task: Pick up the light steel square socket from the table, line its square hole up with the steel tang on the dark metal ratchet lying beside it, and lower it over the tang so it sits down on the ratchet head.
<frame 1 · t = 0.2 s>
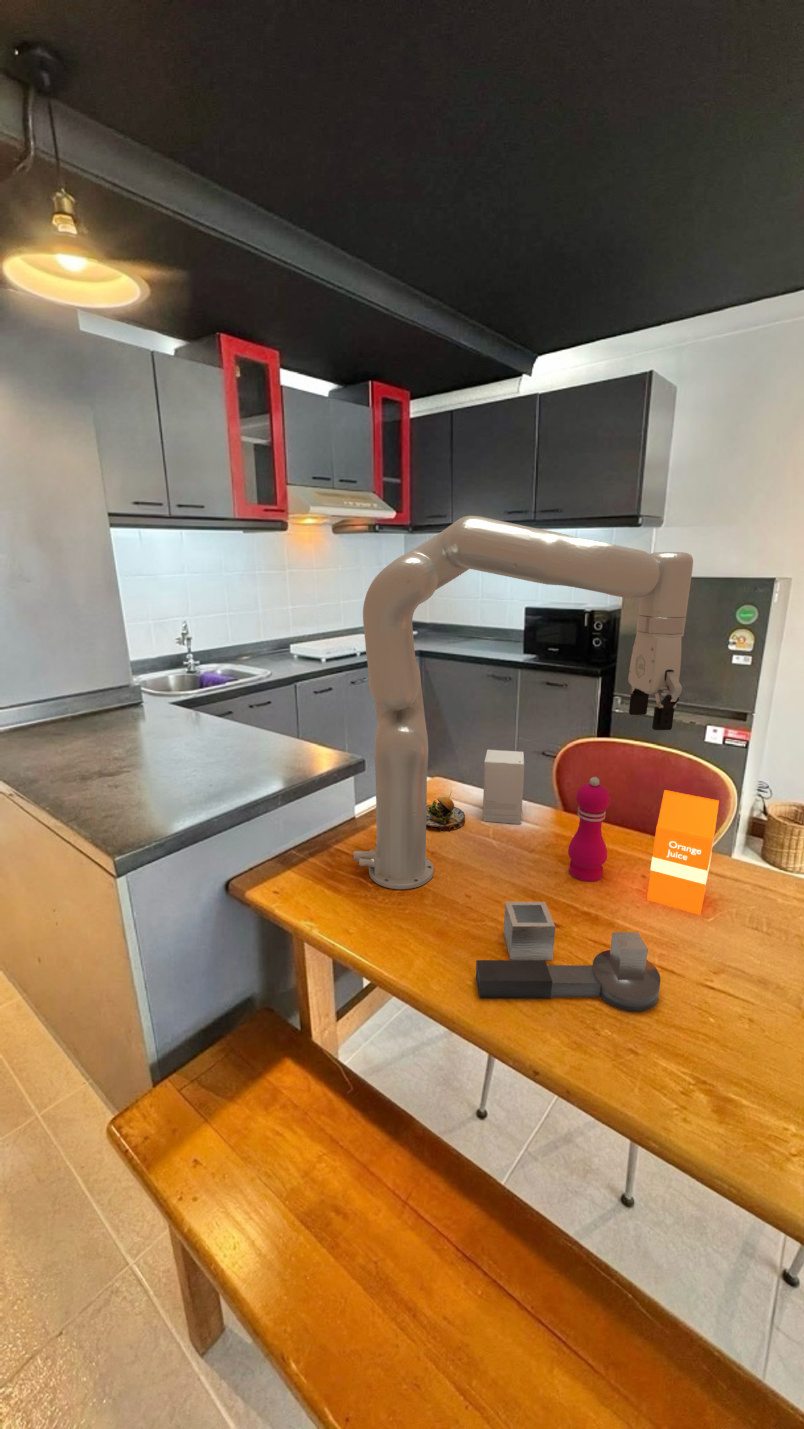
hand: (649, 721, 104), 31 cm above the table, tool pointing down, fingers open, 9 cm apart
socket: (527, 946, 91), on the table
supplement box: (501, 815, 138), on the table
pepper mill: (585, 874, 113), on the table
burger: (439, 822, 135), on the table
ratchet: (568, 988, 83), on the table
orange juice: (675, 897, 105), on the table
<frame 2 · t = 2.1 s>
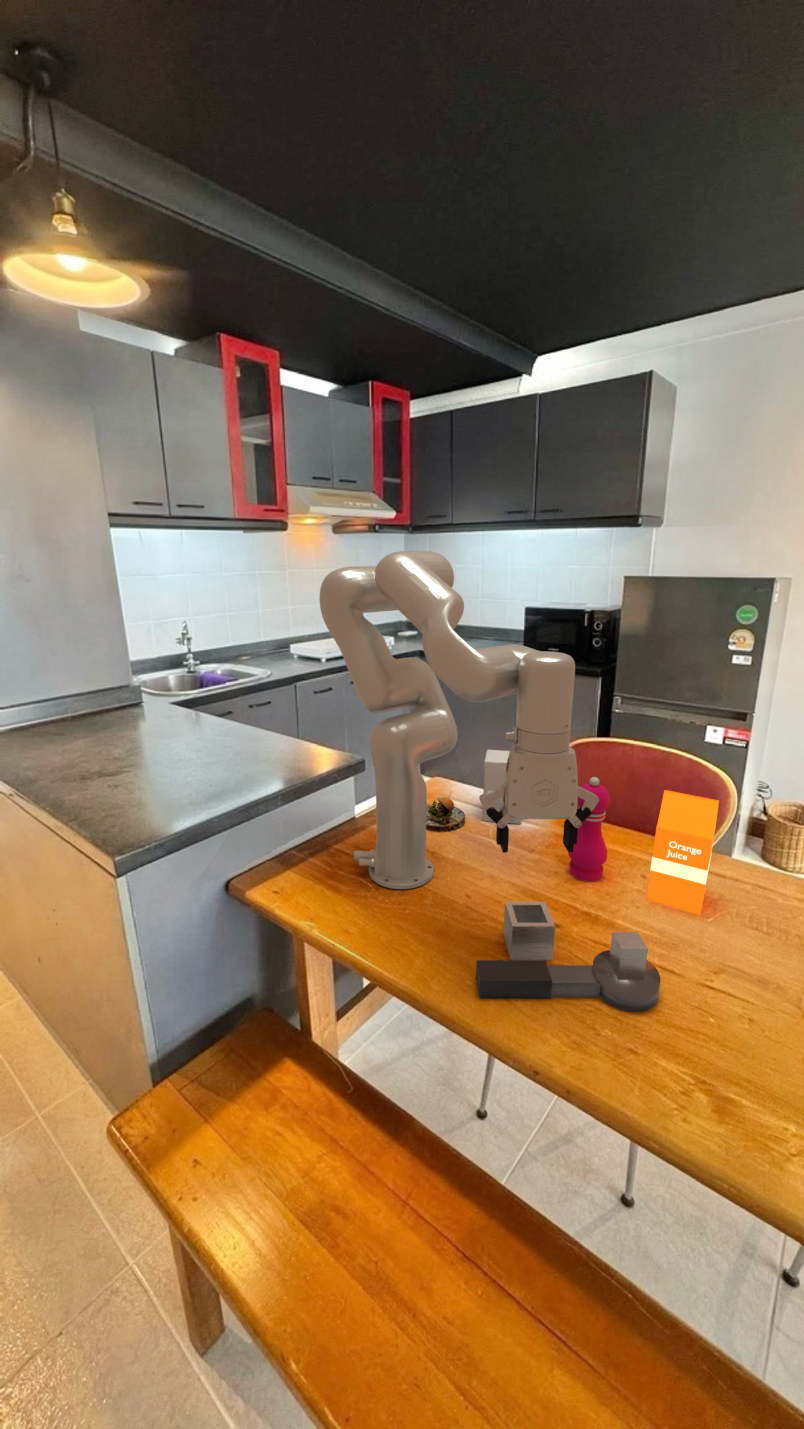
hand: (535, 848, 87), 17 cm above the table, tool pointing down, fingers open, 9 cm apart
nothing on the table moved.
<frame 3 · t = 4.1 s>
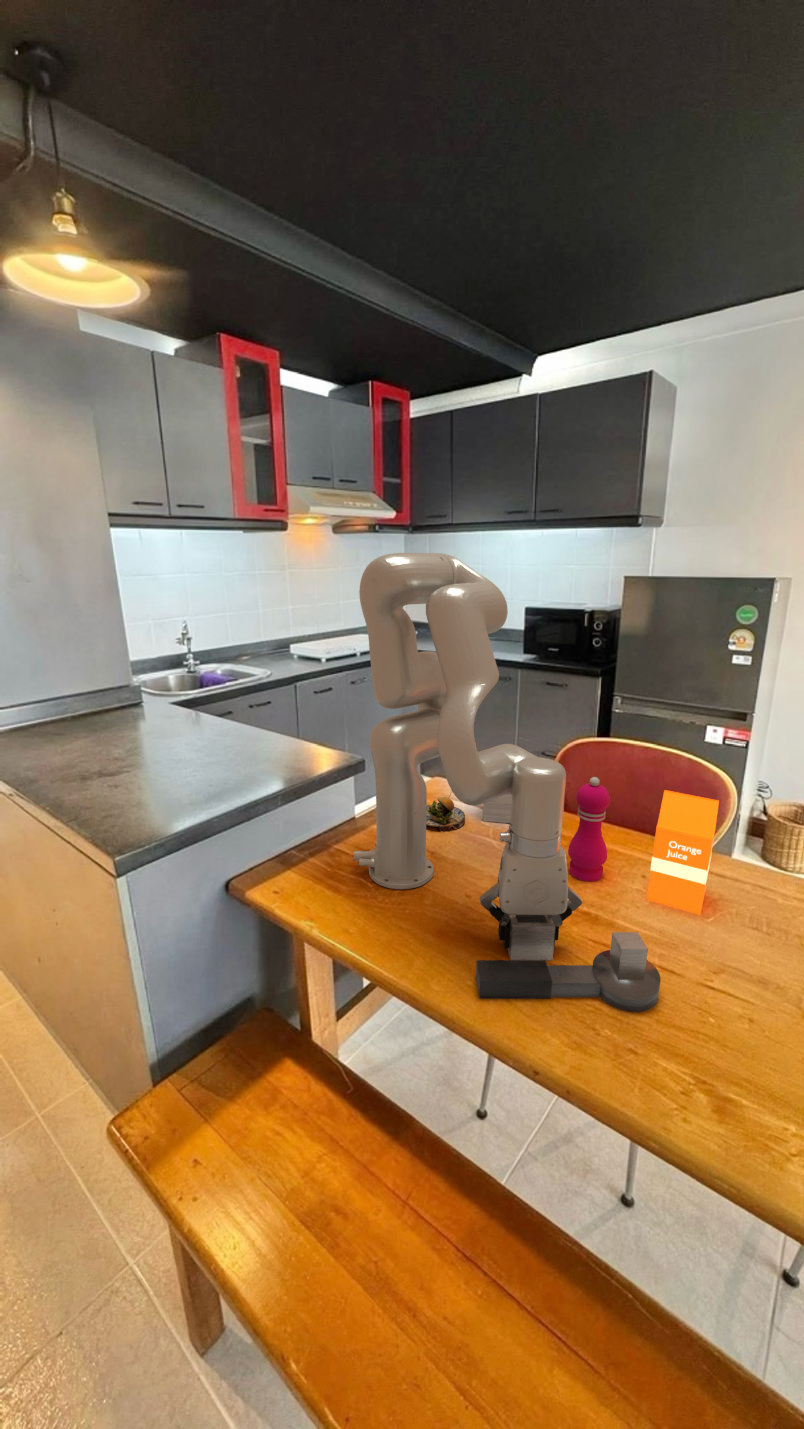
hand: (527, 942, 91), 1 cm above the table, tool pointing down, fingers closed on socket, 6 cm apart
socket: (527, 946, 91), on the table, touching gripper
everything else where it was.
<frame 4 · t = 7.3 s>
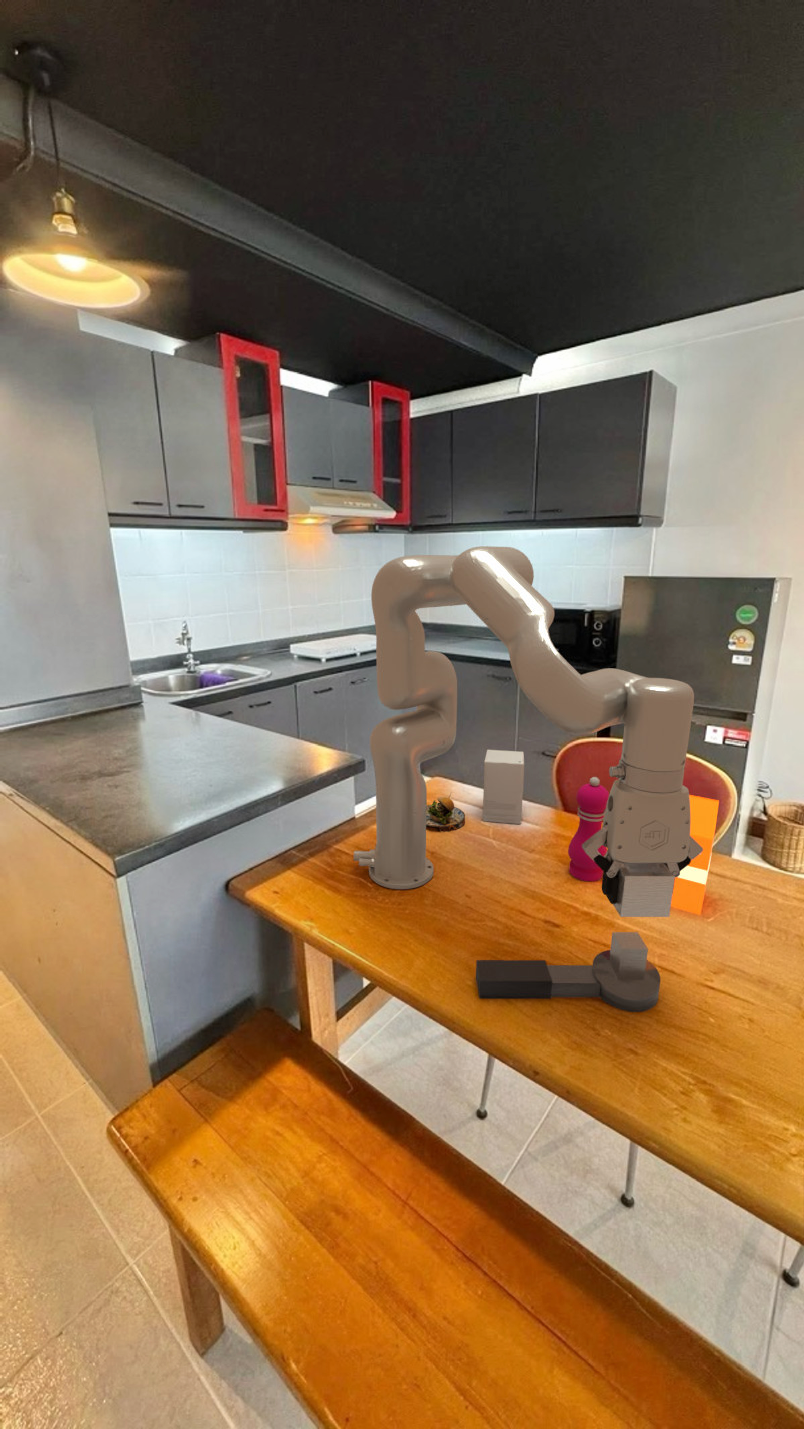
hand: (636, 897, 79), 15 cm above the table, tool pointing down, fingers closed on socket, 6 cm apart
socket: (635, 902, 79), point 14 cm above the table, touching gripper
everything else where it was.
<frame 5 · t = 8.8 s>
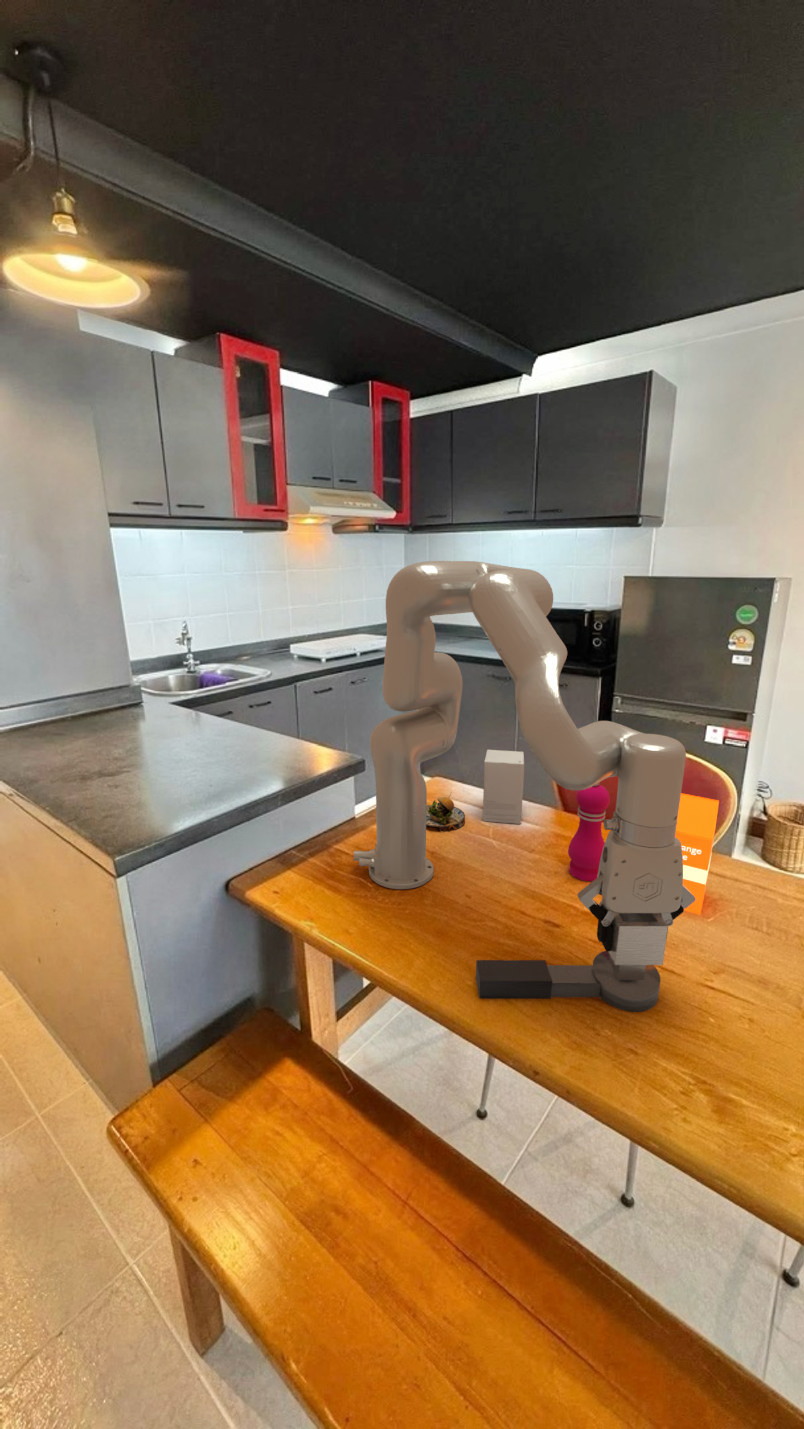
hand: (630, 944, 81), 7 cm above the table, tool pointing down, fingers closed on socket, 6 cm apart
socket: (629, 949, 81), point 7 cm above the table, touching gripper
everything else where it was.
when the fingers open (5 cm above the table, at t = 10.4 s): socket stays where it is, resting on ratchet.
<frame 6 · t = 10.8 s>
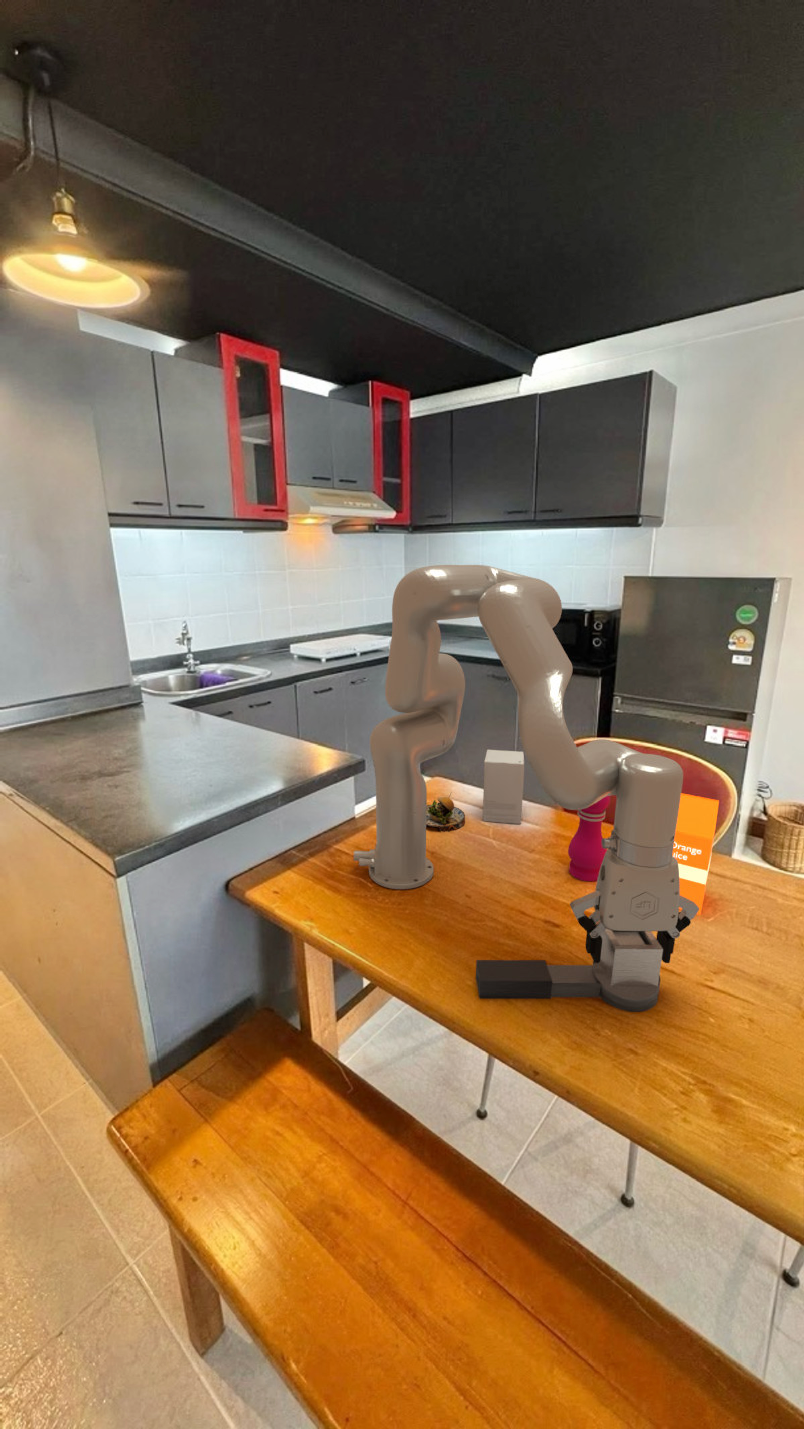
hand: (627, 956, 81), 5 cm above the table, tool pointing down, fingers open, 9 cm apart
socket: (625, 970, 82), point 3 cm above the table, touching ratchet
ratchet: (568, 988, 83), on the table, touching socket
everything else where it was.
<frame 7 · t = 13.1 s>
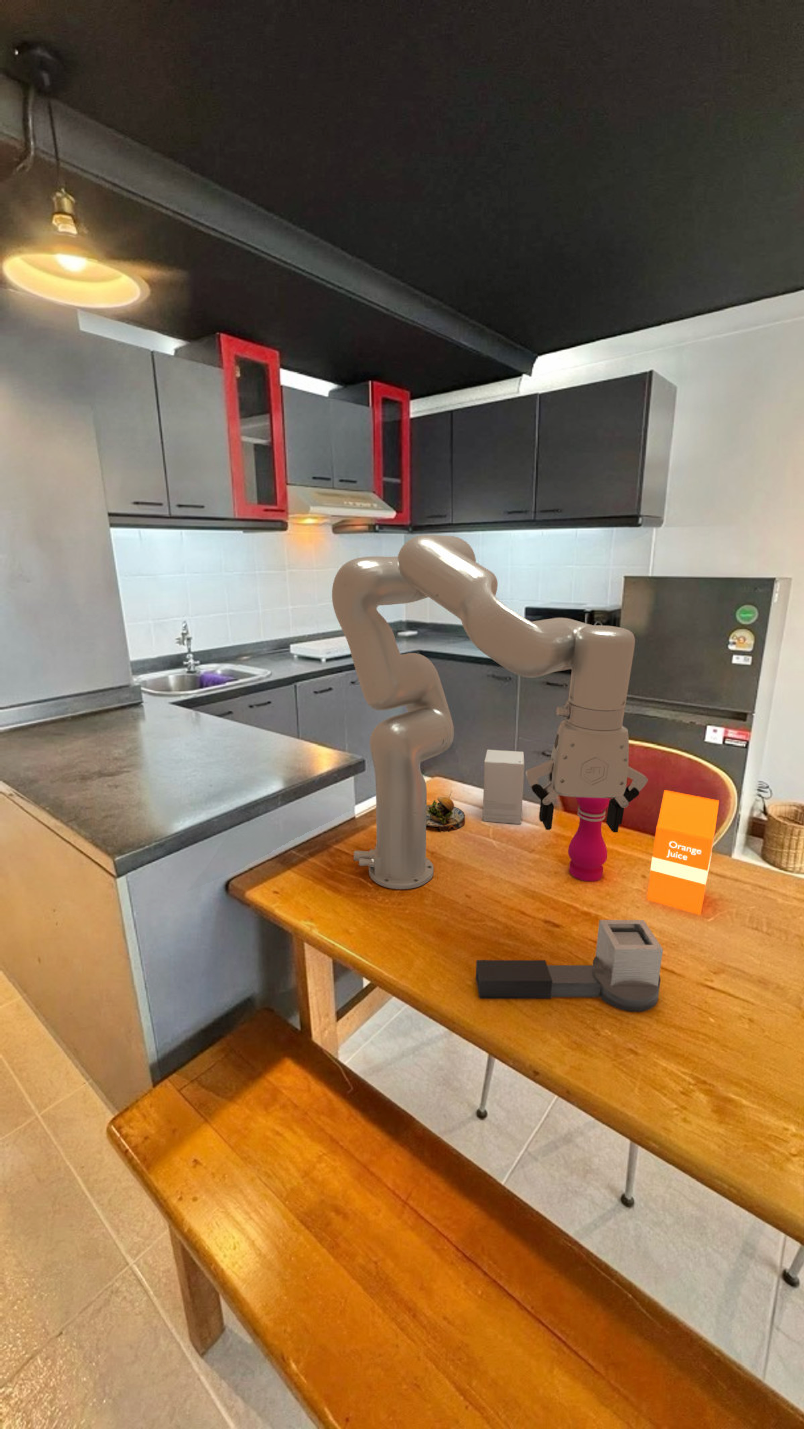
hand: (578, 826, 85), 21 cm above the table, tool pointing down, fingers open, 9 cm apart
nothing on the table moved.
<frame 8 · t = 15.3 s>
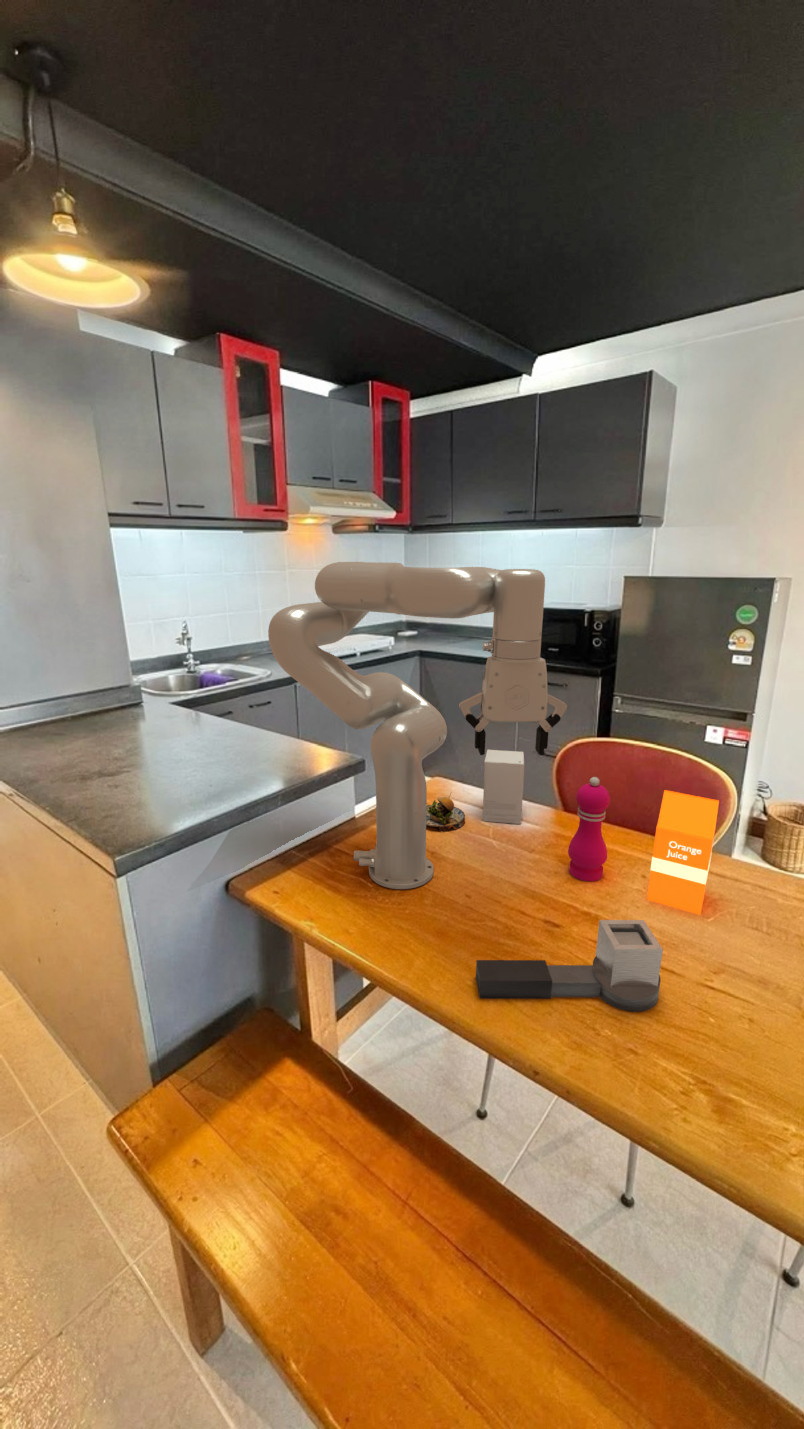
hand: (510, 752, 95), 28 cm above the table, tool pointing down, fingers open, 9 cm apart
nothing on the table moved.
at the end: socket 0.1 cm from the target spot on the ratchet, point 3.0 cm above the ratchet's base; socket tilted 0°; the gripper is holding nothing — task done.
